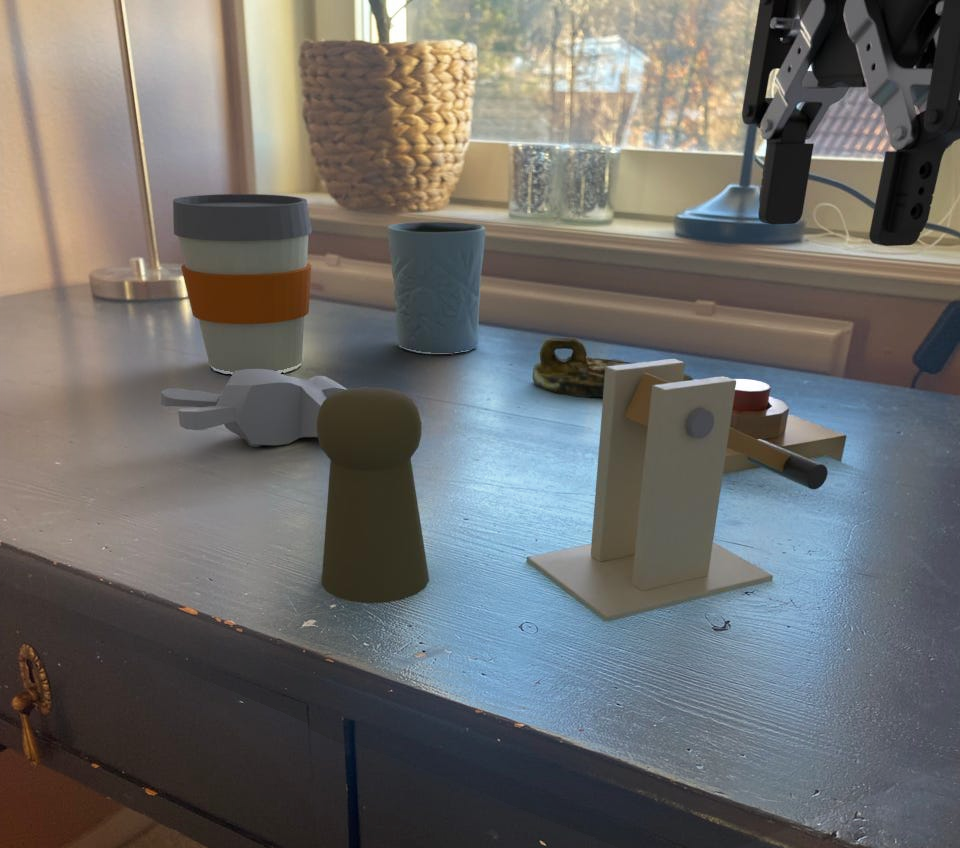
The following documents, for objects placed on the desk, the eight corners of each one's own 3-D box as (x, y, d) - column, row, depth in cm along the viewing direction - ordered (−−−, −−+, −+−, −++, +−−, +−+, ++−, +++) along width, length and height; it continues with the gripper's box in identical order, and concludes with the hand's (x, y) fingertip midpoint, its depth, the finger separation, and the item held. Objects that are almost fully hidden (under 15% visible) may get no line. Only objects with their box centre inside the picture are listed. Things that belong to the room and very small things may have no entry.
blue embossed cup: (415, 360, 99) (413, 233, 93) (375, 340, 107) (370, 222, 101) (501, 350, 104) (504, 229, 98) (456, 332, 111) (456, 218, 105)
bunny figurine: (386, 391, 74) (185, 389, 66) (380, 456, 76) (186, 462, 69) (340, 363, 81) (154, 359, 74) (336, 424, 83) (156, 426, 76)
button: (744, 399, 75) (748, 376, 74) (777, 411, 72) (781, 388, 71) (707, 404, 73) (710, 381, 72) (739, 417, 71) (743, 393, 70)
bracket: (680, 542, 60) (705, 346, 54) (770, 595, 53) (809, 380, 48) (525, 575, 55) (534, 366, 49) (604, 637, 49) (625, 406, 43)
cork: (330, 568, 56) (317, 375, 50) (435, 571, 55) (434, 378, 50) (310, 617, 50) (294, 408, 45) (427, 621, 50) (424, 411, 45)
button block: (751, 427, 81) (758, 379, 79) (841, 463, 73) (852, 411, 71) (632, 446, 76) (637, 395, 74) (716, 487, 68) (723, 431, 66)
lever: (754, 473, 58) (773, 435, 57) (815, 500, 54) (836, 460, 53) (608, 409, 51) (627, 365, 50) (666, 436, 47) (688, 389, 46)
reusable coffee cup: (342, 370, 95) (333, 203, 88) (219, 388, 89) (198, 209, 81) (288, 345, 104) (276, 192, 97) (172, 359, 98) (150, 196, 90)
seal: (688, 390, 94) (536, 380, 96) (695, 340, 93) (539, 330, 94) (694, 406, 86) (526, 394, 88) (701, 350, 84) (529, 340, 86)
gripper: (1137, -242, 34) (1007, 251, 42) (867, -159, 46) (805, 215, 54) (969, -270, 32) (865, 257, 40) (730, -175, 43) (686, 218, 51)
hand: (831, 233), depth 47 cm, fingers open, 8 cm apart
